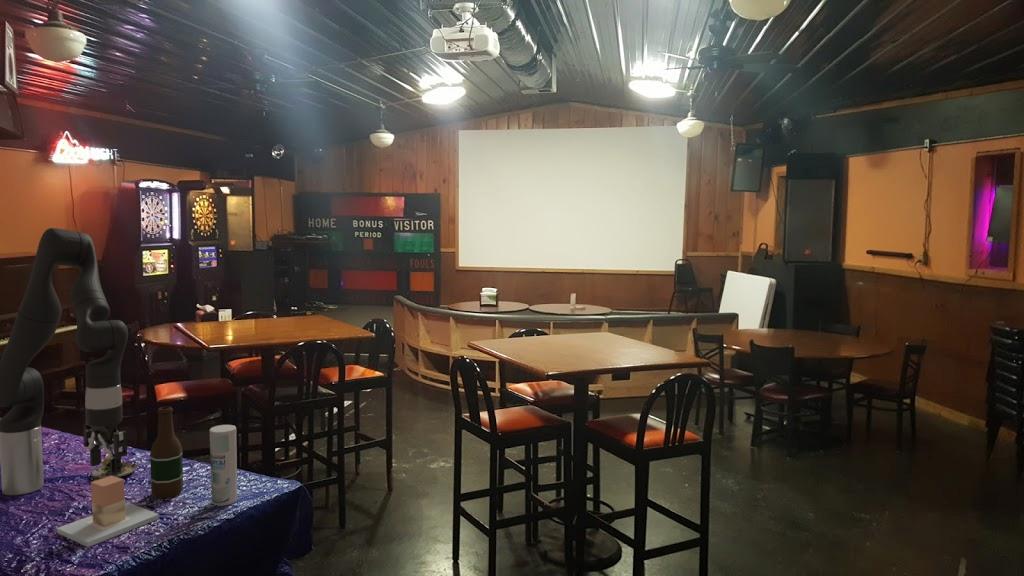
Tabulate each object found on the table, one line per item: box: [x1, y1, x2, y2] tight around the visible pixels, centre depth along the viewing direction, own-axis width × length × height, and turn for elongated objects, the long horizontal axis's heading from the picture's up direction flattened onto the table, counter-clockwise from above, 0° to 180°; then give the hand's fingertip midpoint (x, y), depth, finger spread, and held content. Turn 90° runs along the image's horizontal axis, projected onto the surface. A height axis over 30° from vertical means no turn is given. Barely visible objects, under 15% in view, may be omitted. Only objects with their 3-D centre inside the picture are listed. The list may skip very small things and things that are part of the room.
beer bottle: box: [149, 406, 184, 500], centre depth 179 cm, size 8×8×24 cm
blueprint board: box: [56, 502, 160, 548], centre depth 161 cm, size 13×17×1 cm
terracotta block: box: [90, 475, 126, 507], centre depth 160 cm, size 5×5×5 cm
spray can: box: [209, 424, 238, 507], centre depth 175 cm, size 6×6×20 cm
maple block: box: [91, 499, 126, 527], centre depth 161 cm, size 5×5×5 cm
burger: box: [90, 451, 138, 481], centre depth 192 cm, size 12×12×8 cm
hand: (105, 469), depth 159 cm, fingers open, 8 cm apart
